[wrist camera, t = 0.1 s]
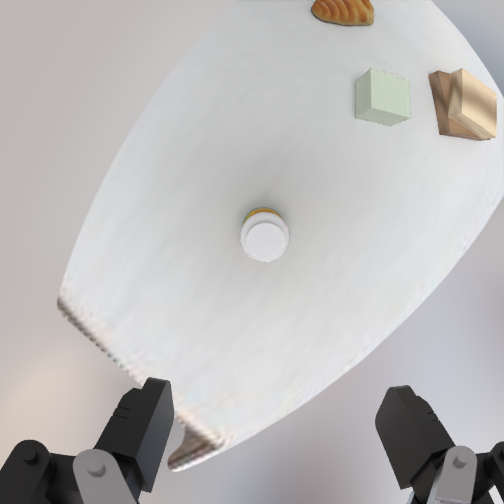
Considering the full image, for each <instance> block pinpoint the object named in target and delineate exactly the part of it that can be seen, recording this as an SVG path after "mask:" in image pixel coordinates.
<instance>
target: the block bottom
mask: <svg viewBox="0 0 504 504" xmlns="http://www.w3.org/2000/svg"><path fill="white" fill-rule="evenodd" d="M428 77H429V81H430V86H431V90H432V95H433V99H434V104H435V110H436V115H437V121H438V127H439V134H440V135H446V136H454V137H460V138H467V139H473V140H478V141H482V140H490V138H487V139H481V138H480V137H478V136H477V135H475V134H474V133H473V132H471V131H469V130H468V129H466V128H465V127H463V126H462V125H460V124H459V123H457V122H455V121H454V120H452V119H450V118H449V117H448V109H449V86H450V74H448V73H445V72H441V71H436V72H434V73H432V74H431V75H429V76H428Z"/></svg>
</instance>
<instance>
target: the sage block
mask: <svg viewBox="0 0 504 504" xmlns="http://www.w3.org/2000/svg"><path fill="white" fill-rule="evenodd" d="M355 118H358V119H363V120H367V121H372V122H376V123H380V124H385V125H389V126H391V125H394V124H397V123H399V122H402V121H404V120H407V119H410V90H409V80H408V79H405V78H402V77H399V76H396V75H393V74H389V73H386V72H383V71H379V70H376V69H372V68H370V69H369V70H368V71H367V72H366V73H365V74H364V75H363V76H362V77H361V78H360V79H359V80H358V81H357V82H356V83H355Z"/></svg>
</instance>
